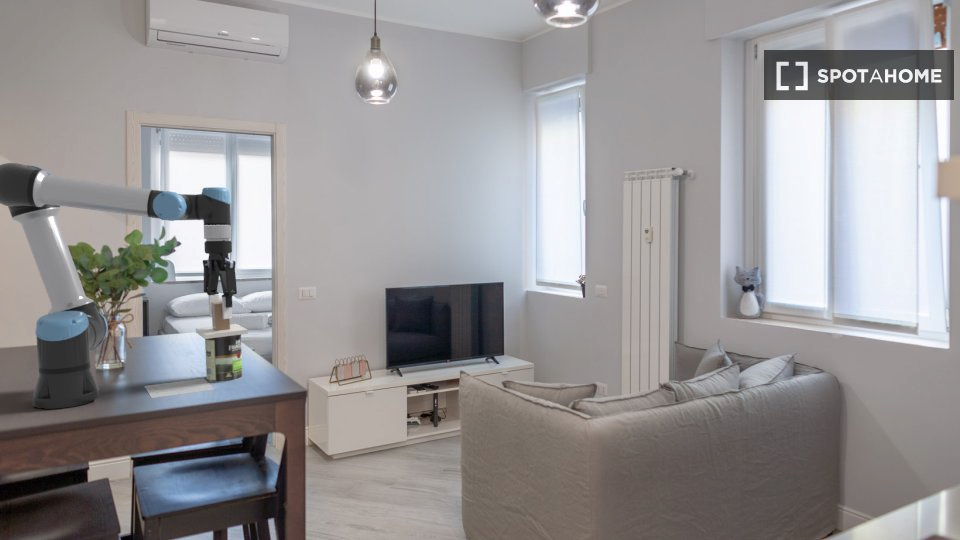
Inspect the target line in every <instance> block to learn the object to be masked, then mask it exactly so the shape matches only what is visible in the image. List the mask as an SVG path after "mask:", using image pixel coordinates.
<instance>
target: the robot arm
mask: <svg viewBox="0 0 960 540" xmlns="http://www.w3.org/2000/svg"><path fill="white" fill-rule="evenodd" d="M0 205H3V206H5V207H8V210H9V213H10V216H11V218H12V220H13V221H16V222H18V223H20V224H21V226H22V229H23V231H24V234H25V237H26V241H27V242H28V245H29V248H30V251H31V253H32V256H33V259H34V261H35V264H36V267H37V270H38V272H39V276H40V278H41V280H42V284H43V286H44V289H45V292H46V294H47V297H48V299H49V301H50V302H49V303H50V309H49V311H47V314H44V315H42V316H40V317H39V318H38V319H37V321H36V325H35V326H36V328H35V336H36V349H37V351H36V352H37V364H38V378H37V381H36V384H35V388H34V391H33V394H32V398H31V399H32V407H33V406H34V408H35V407H37V408H36V409H41V408H44V409H45V410H47V409H48V410H50V409H51V410H52V409H55V410H56V409H64V408H71V407H76V406H82V405H85V404H90V403H93V402H94V401H95V400H96V399H99V397H100V387H99V386H98V384H97V381H96V379H95V377H94V375H93V372H92V371H91V357H90V356H91V355H90V351H92V350H95V349H96V348H98V347H99V346H101V344H102V343H103V342H104V340H105V339H106V337H107V334H108V330H109V329H108V328H109V327H108V322H107V319H106V318H105V316H104V315H103V314H102V313H100V312H99V311H98V309H97V306H96V304H95V300H94V299H91V298H89V297H87V296H86V293H85V290H84V288H83V285H82V282H81V279H80V276H79V274H78V273H79V272H78V270H77V268H76V265H75V263H74V260H73V257H72V254H71V252H70V249H69V246H68V244H67V241H66V237H65V235H64V232H63V229H62V227H61V224H60V221H59V219H58V214H59V212H60V211H61V207H65V208H67V207H68V208H75V209H83V210H89V211H98V212H99V211H100V212H105V213H106V212H107V213H113V214H115V213H116V214H121V215H122V214H123V215H129V216H130V215H131V216H138V217H146V218H151V219H160V220H161V221H169V222H171V221H172V222H174V221H203V239H205V242H204V253H205V254H207V255H208V259H203V260H202V266H203V293H206V295H207V296H208V307H209V308H208V309H209V310H208V311H209V318H212V308H211V303H212V302H220V300H219V298H220V296H219V292H218V286H219V281H220V284H221V289H222V295H221V302H222V311H223V319H229V320H230V319H233V296H234V295H237V293H238V290H237V289H238V287H237V276H236V261H235V260H231V259H230V257H229V254H231V253H232V252H233V248H232V247H233V245H232V244H233V243H232V241H231V240H230V239H232V227H231V225H232V224H231V223H232V221H231V220H232V219H231V216H232V215H231V214H232V213H231V199H230V190H229V189H228V188H226V187H220V186H219V187H217V186H215V187H212V186H211V187H203V188H202V191H201V193H198V194H197V193H196V194H191V193H190V194H188V193H187V194H183V193H177V192H174V191H170V190H169V191H168V190H167V191H164V190H157V189H155V190H154V189H150V188H143V187H136V186H130V185H129V186H128V185H122V184H114V183H108V182H101V181H92V180H85V179H78V178H71V177H64V176H58V175H57V176H56V175H52V174H50V173H49V172H48V171H46V170H44V169H43V168H41V167H38V166H35V165H34V166H33V165H28V164H27V165H26V164H22V163H17V162H6V163H2V164H0ZM44 409H43V410H44Z"/></svg>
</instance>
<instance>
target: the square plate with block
mask: <svg viewBox="0 0 960 540" xmlns="http://www.w3.org/2000/svg"><path fill="white" fill-rule="evenodd" d="M211 308H212V317H211V321H212V322H211V324H212V326H207V327H198V328H195V333H196V334H197V335H198V336H200V337H201V338H203V339H204V340H205V339H209V338H217V337H225V336H233V335H241V336H242V335H246V334H249V333H248V328H245V327H243V326H241V325H239V324H238V323H232V324H230V322H231V320H230V318H229V319H223V311H222V301H219V302H212V303H211Z"/></svg>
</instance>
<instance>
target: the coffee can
mask: <svg viewBox="0 0 960 540" xmlns="http://www.w3.org/2000/svg"><path fill="white" fill-rule="evenodd" d="M204 346H205V351H204V352H205V367H206V369H205V370H206V381H207V382H209V383H210V382H212V383H223V382H232V381H237V380H240V379H242V378H243V362H242V361H243V357H242V356H243V354H242V334H241V335H233V336H225V337H217V338H209V339H204Z"/></svg>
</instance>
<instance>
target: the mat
mask: <svg viewBox="0 0 960 540" xmlns="http://www.w3.org/2000/svg"><path fill="white" fill-rule="evenodd" d="M144 388H145V390H146V391H147V393H148V395H149V397H150V398H151V399H154V398H155V399H156V398H163V397H171V396H178V395H185V394H192V393H199V392H206V391H213V390H214V391H215V390H216V389H215V387H214V386H212V385H211V383H210V382H209V381H207V379H205V378H203V377H202V378H195V379H189V380H181V381H171V382H165V383H156V384H150V385H144Z"/></svg>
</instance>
